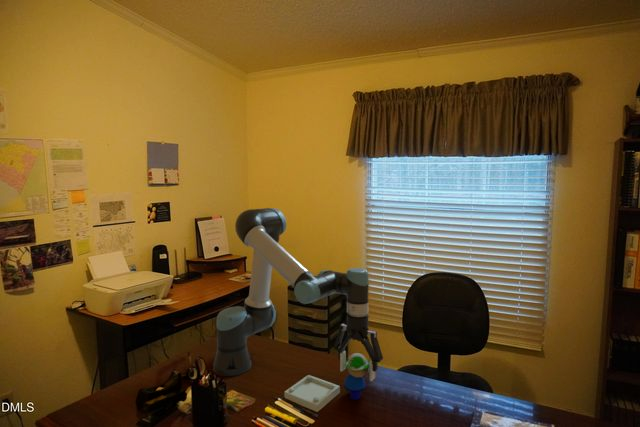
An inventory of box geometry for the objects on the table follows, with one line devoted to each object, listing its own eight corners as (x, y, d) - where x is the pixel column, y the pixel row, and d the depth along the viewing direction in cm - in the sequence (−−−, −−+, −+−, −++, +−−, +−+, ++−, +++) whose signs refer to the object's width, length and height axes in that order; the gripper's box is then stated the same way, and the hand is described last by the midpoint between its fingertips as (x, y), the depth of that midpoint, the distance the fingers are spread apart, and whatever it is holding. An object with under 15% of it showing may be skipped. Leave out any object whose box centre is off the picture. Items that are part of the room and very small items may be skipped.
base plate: (284, 398, 127) (284, 390, 126) (308, 380, 138) (308, 373, 138) (317, 412, 119) (317, 403, 118) (339, 392, 130) (339, 384, 130)
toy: (369, 404, 123) (369, 361, 122) (342, 401, 125) (342, 358, 124) (371, 389, 132) (371, 349, 131) (345, 387, 134) (346, 347, 133)
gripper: (323, 310, 130) (323, 369, 131) (384, 323, 117) (383, 389, 118) (334, 304, 136) (334, 361, 138) (393, 316, 123) (392, 379, 124)
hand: (357, 374), depth 128 cm, fingers open, 11 cm apart
